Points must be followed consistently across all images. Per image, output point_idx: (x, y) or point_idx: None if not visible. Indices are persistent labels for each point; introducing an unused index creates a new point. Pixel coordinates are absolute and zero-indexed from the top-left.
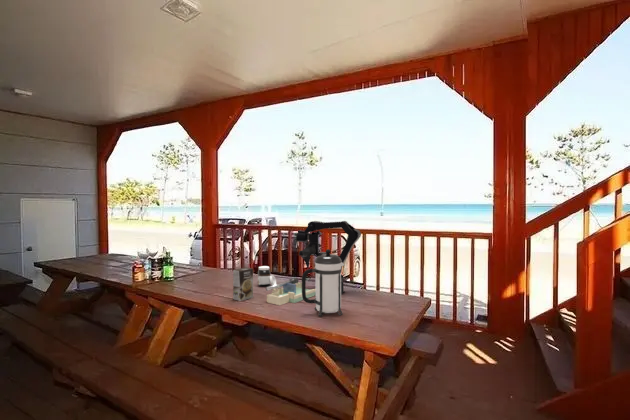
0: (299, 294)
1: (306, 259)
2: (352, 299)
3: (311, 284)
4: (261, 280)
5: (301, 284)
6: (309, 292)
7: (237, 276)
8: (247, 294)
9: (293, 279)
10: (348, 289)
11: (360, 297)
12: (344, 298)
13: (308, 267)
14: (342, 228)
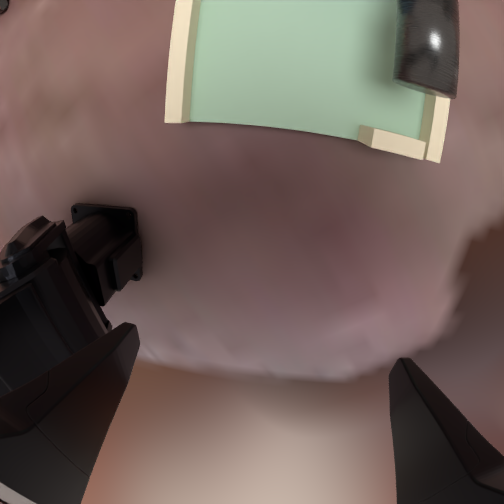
0: None
1: (454, 482)
2: (3, 169)
3: (370, 336)
4: None
5: (370, 130)
6: (179, 9)
7: None
8: None
9: (425, 7)
10: (113, 323)
11: (4, 220)
12: (26, 158)
13: (389, 374)
14: None
